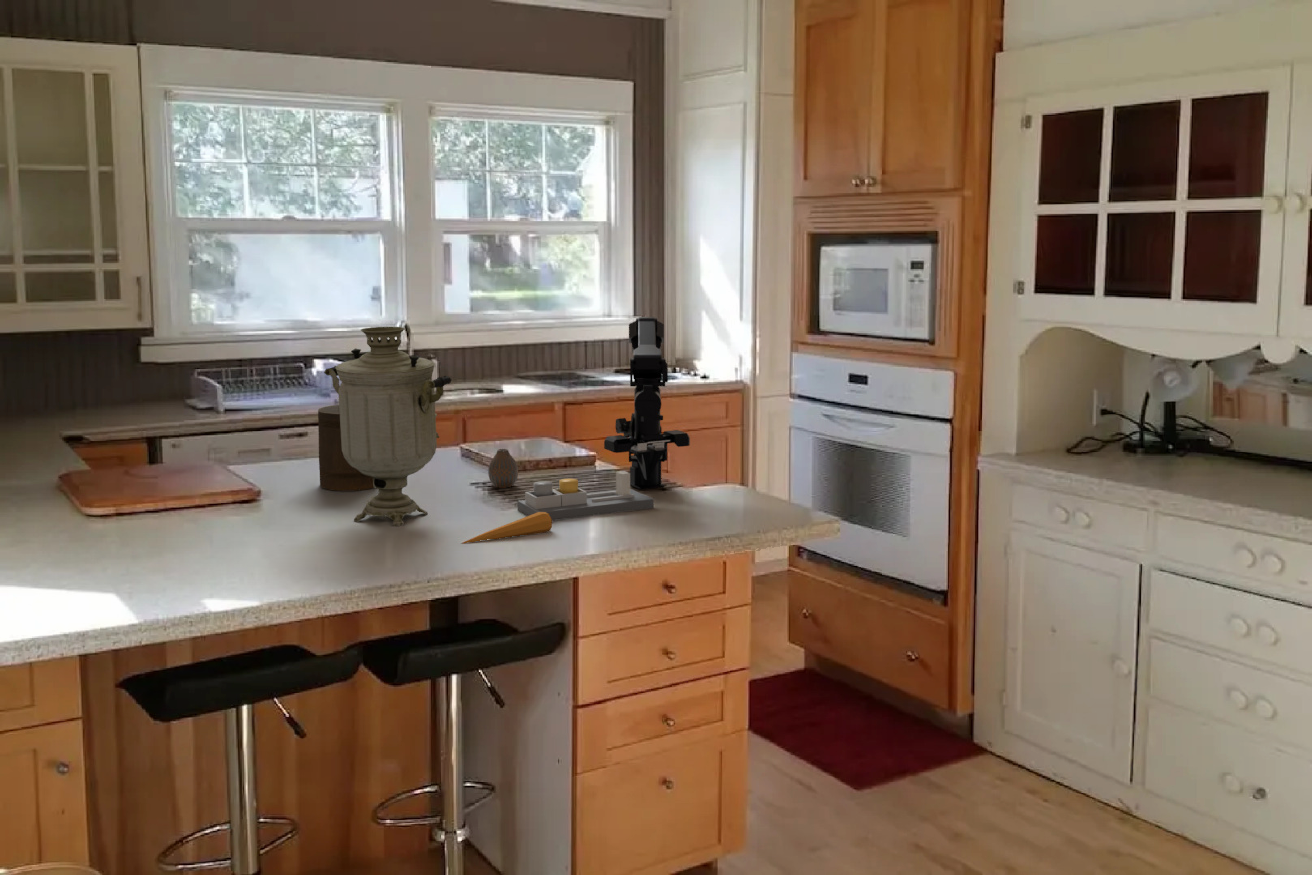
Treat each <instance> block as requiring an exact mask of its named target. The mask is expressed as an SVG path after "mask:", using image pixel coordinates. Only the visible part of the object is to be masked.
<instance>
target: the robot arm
mask: <svg viewBox="0 0 1312 875" xmlns="http://www.w3.org/2000/svg"><path fill="white" fill-rule="evenodd" d="M628 343H629V344H631V353H632V355H633V357H632V358H629V367H630V368H629V383H630V384H629V386H630V387H634V391H633V392H634V393H633V394H634V397H633V398H634V399H633V401H634V406H633V407H634V409H633V410H634V411H633V413H631V416H630V417H631V418H630V420H627V419H626V418H625V417H622V418H616V419H615V426H614V427H615V433H616V434H617V435H607V436H606V437H605V439H604V441H603V442H604V443H603V448H604V449H605V450H607V451H609V452H611V453H616V454H618V453H620V454H621V453H628V463H631V466H630V467H629V473H630V486H632V487H634V488H637V489H638V490H647V489H648V490H649V489H654V488H664V487H665V484H664V483H662V463H665V462H667V461H668V444H675V446H676V447H678V448H679V447H689V446H690V445H691V444H690V443H691V441H690V440H691V437H690V435H689V434H688V433H687V432H685V431H682V430H679V429H673V430H664V431H663V433H662V429H663V428H662V426H661V421H663V420H664V415H662V414H661V409H662V397H661V388H660V387H666V383H668V381H669V376H668V375H669V373H668V372H669V371H668V370H669V367H668V363H667V362H666V360H667V359H666V358H663V357H662V356H663V355H662V354H663V353H662V350H661V348H662V344H664V343H665V324H664V323H663V322H661V321H659V320H658V318H657V317H654V316H639V317H636V318H635V320H634V321H632V322H630V323H629V324H628ZM618 434H619V435H618ZM621 434H623V435H621Z"/></svg>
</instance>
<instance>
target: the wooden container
mask: <svg viewBox="0 0 1312 875" xmlns="http://www.w3.org/2000/svg"><path fill="white" fill-rule="evenodd" d="M317 422H318V425H317V426H318V427H317V428H318V466H319V467H318V468H319V487H321V488H322V489H324V490H328V491H338V492H355V491H356V492H357V491H366V490H367V491H368V490H372V489H376V488H375V487H373V478H372V477H371V476H367V475H364V474H362V473H361V472H360V471H359V470H357V469H356V468H354V467H352V466H351V465H350V464H349V463H348V462H347V460H346V459H345V458H344V455H343V452H342V445H341V428H340V411H339V404H334V405H327V406H323V407H319V408H318V410H317Z"/></svg>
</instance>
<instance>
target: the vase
mask: <svg viewBox="0 0 1312 875" xmlns="http://www.w3.org/2000/svg"><path fill="white" fill-rule="evenodd" d="M487 471H488V472H487V473H488V479H489V481H490V483H491V484H492V485H493V487H495V488H497V487H499V488H498V489H507V488H506V487H509V488H511V486H512V487H513V486H514V485H515V483H516V482H517V479H518V476H519V468H518V464H517V461H516V460H515V458H514V457H513V456H512V454H511V453H510V451H509V449H507V448H500V449H497V451H496V452H495V455H494V456H493V457H492V459H490V462H489V464H488V470H487Z"/></svg>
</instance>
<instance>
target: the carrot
mask: <svg viewBox="0 0 1312 875" xmlns="http://www.w3.org/2000/svg"><path fill="white" fill-rule="evenodd" d="M552 528H553V520H552V518H551V517H550V515H549V514H548V513H546V512H537V513H535V514H532V515H529V516H528V515H526V516H525V517H522V518H519V519H516V520H514V521H511V522H509V523H506V524H504V525H501V526H498V527H496V528H493V529H491V530H488V531H486V532H483V533H480V534H479V535H476V536H473V537H472V538H470V539H467V540H465V541H462V543H463V544H468V543H467V542H472V543H476V542H475V541H480V540H487V539H495V540H500V539H499V538H503V539H506V538H505V537H510V538H513V537H512V536H517V537H521V536H520V535H524V536H530V535H531V536H532V535H537V534H538V533H539V534H544V533H549V532H550V531H551V530H552ZM480 542H481V541H480Z"/></svg>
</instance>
